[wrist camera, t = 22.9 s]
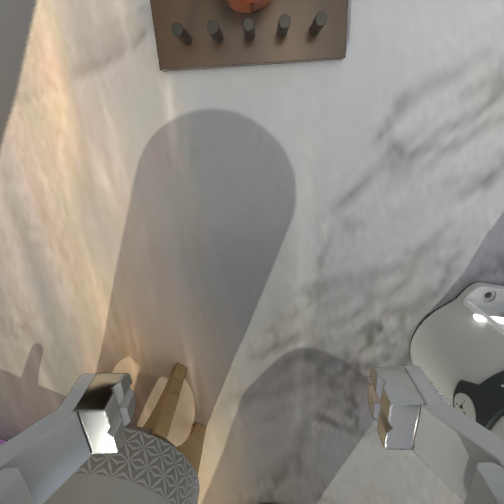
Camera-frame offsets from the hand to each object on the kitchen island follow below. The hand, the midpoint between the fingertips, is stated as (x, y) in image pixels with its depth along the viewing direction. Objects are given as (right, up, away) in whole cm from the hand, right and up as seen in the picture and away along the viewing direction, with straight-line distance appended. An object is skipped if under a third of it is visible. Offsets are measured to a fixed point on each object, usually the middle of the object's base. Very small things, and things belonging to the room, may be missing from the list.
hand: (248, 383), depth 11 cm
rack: (0, +30, +19) cm, 35 cm away
